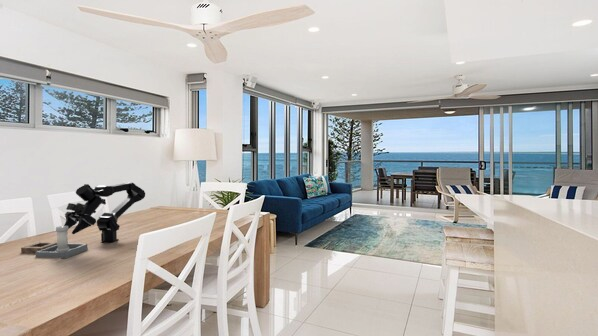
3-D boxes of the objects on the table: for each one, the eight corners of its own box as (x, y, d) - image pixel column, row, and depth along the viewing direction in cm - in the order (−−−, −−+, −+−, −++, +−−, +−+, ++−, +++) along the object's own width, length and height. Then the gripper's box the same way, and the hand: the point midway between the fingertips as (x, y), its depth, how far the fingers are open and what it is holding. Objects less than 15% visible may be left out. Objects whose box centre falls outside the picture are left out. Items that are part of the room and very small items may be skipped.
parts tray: (87, 249, 157) (87, 243, 157) (64, 258, 144) (64, 252, 143) (60, 248, 158) (60, 243, 158) (35, 258, 144) (35, 251, 144)
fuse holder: (58, 248, 160) (58, 242, 159) (41, 254, 150) (41, 248, 149) (39, 247, 160) (39, 241, 160) (21, 254, 150) (21, 247, 150)
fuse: (70, 249, 154) (69, 225, 154) (67, 252, 150) (66, 227, 149) (58, 250, 152) (57, 226, 152) (54, 253, 148) (54, 228, 147)
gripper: (68, 195, 161) (43, 221, 152) (88, 198, 152) (63, 225, 143) (85, 208, 168) (62, 233, 159) (105, 211, 159) (83, 238, 150)
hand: (67, 232), depth 153 cm, fingers open, 9 cm apart
